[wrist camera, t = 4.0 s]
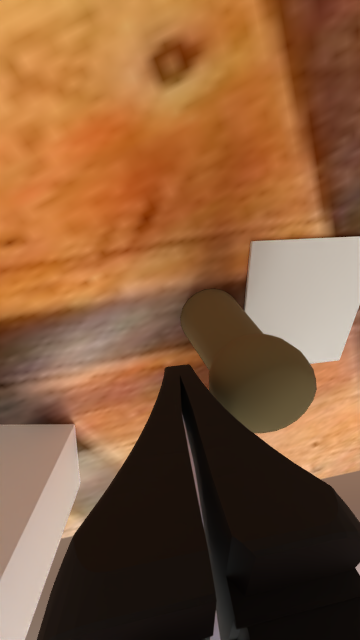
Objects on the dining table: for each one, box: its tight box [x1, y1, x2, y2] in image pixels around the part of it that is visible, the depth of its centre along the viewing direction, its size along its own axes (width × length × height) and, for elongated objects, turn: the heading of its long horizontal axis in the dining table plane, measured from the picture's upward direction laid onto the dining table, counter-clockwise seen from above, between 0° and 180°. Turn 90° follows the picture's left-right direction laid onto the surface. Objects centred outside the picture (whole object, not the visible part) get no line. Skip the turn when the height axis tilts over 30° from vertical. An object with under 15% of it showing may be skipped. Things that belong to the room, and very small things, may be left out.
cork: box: [181, 289, 317, 433], centre depth 13 cm, size 6×6×11 cm
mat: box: [244, 236, 360, 364], centre depth 19 cm, size 14×13×1 cm
